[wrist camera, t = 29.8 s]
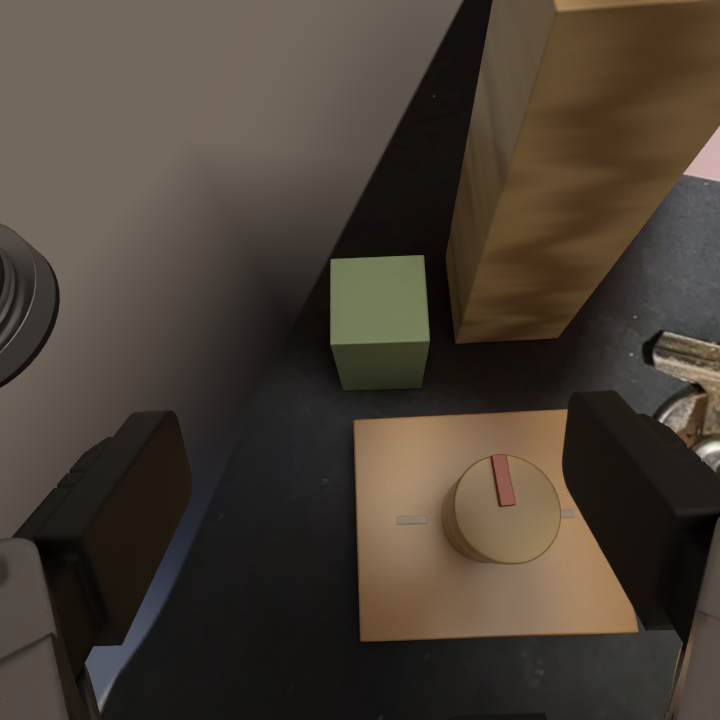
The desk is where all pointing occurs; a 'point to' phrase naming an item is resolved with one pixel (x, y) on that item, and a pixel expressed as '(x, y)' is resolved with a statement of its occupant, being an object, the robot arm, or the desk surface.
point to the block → (379, 322)
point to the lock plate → (447, 565)
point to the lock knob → (502, 511)
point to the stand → (573, 151)
